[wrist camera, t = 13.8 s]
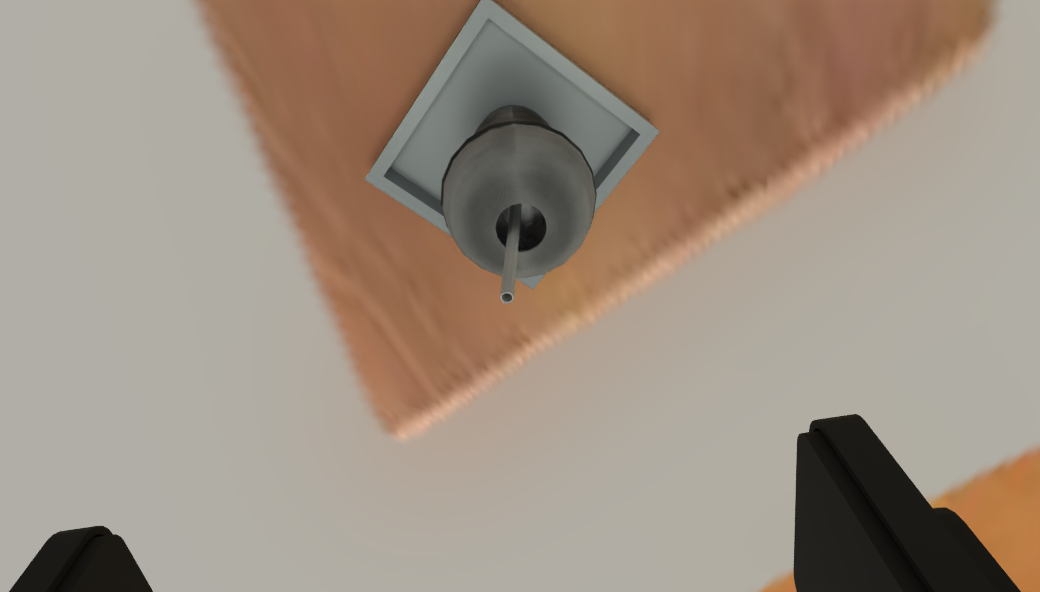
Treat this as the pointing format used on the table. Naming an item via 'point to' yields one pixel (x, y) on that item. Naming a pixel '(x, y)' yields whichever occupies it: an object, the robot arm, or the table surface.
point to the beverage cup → (518, 196)
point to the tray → (497, 83)
